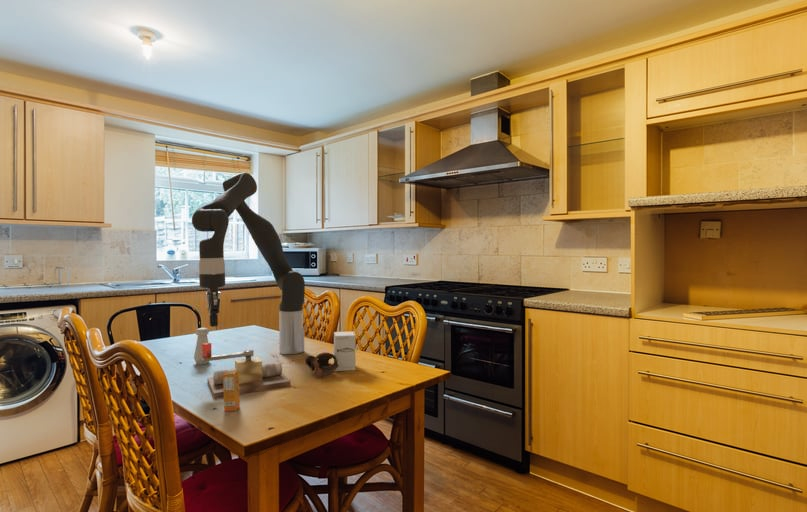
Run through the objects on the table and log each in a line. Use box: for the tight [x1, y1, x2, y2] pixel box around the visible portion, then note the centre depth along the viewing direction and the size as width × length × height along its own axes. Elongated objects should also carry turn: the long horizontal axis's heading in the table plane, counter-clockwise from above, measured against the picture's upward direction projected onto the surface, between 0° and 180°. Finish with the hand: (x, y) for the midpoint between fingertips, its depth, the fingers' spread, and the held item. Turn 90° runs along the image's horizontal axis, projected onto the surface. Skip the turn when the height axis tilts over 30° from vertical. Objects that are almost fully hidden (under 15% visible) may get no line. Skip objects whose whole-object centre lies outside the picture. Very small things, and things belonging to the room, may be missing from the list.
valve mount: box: [206, 356, 291, 399], centre depth 134 cm, size 22×16×9 cm
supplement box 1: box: [223, 371, 241, 412], centre depth 113 cm, size 3×4×10 cm
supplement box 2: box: [333, 331, 357, 372], centre depth 152 cm, size 7×7×13 cm
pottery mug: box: [304, 352, 339, 379], centre depth 145 cm, size 12×10×8 cm
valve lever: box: [202, 342, 255, 362], centre depth 131 cm, size 15×3×5 cm, turn 121°
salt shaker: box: [193, 327, 210, 365], centre depth 157 cm, size 6×6×13 cm
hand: (213, 326), depth 136 cm, fingers closed
